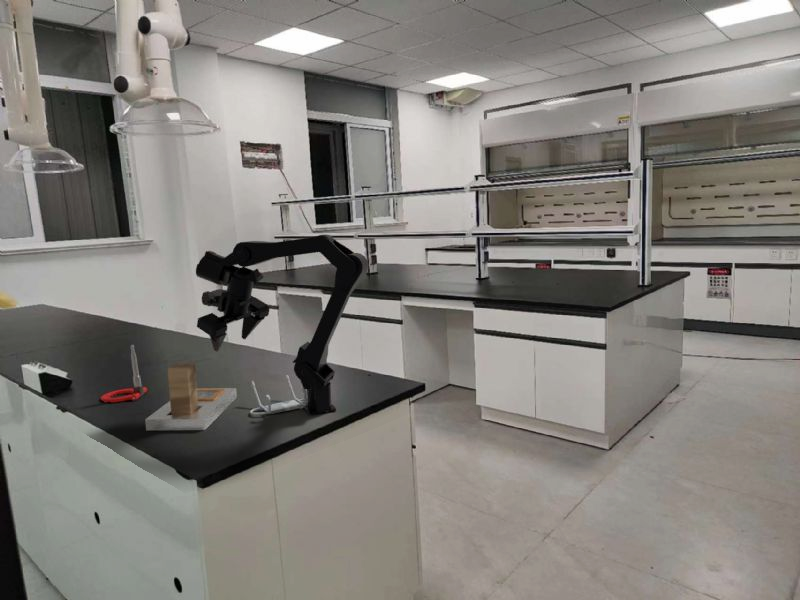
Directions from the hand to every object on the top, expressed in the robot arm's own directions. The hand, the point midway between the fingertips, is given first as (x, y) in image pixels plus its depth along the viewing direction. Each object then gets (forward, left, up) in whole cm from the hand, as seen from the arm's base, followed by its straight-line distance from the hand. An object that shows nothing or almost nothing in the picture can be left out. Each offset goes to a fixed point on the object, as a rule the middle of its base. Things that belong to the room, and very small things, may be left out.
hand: (230, 344), depth 139 cm
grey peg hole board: (-6, +10, -14) cm, 18 cm away
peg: (-11, +12, -14) cm, 22 cm away
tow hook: (+15, +26, -15) cm, 33 cm away
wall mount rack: (-11, -9, -15) cm, 20 cm away
